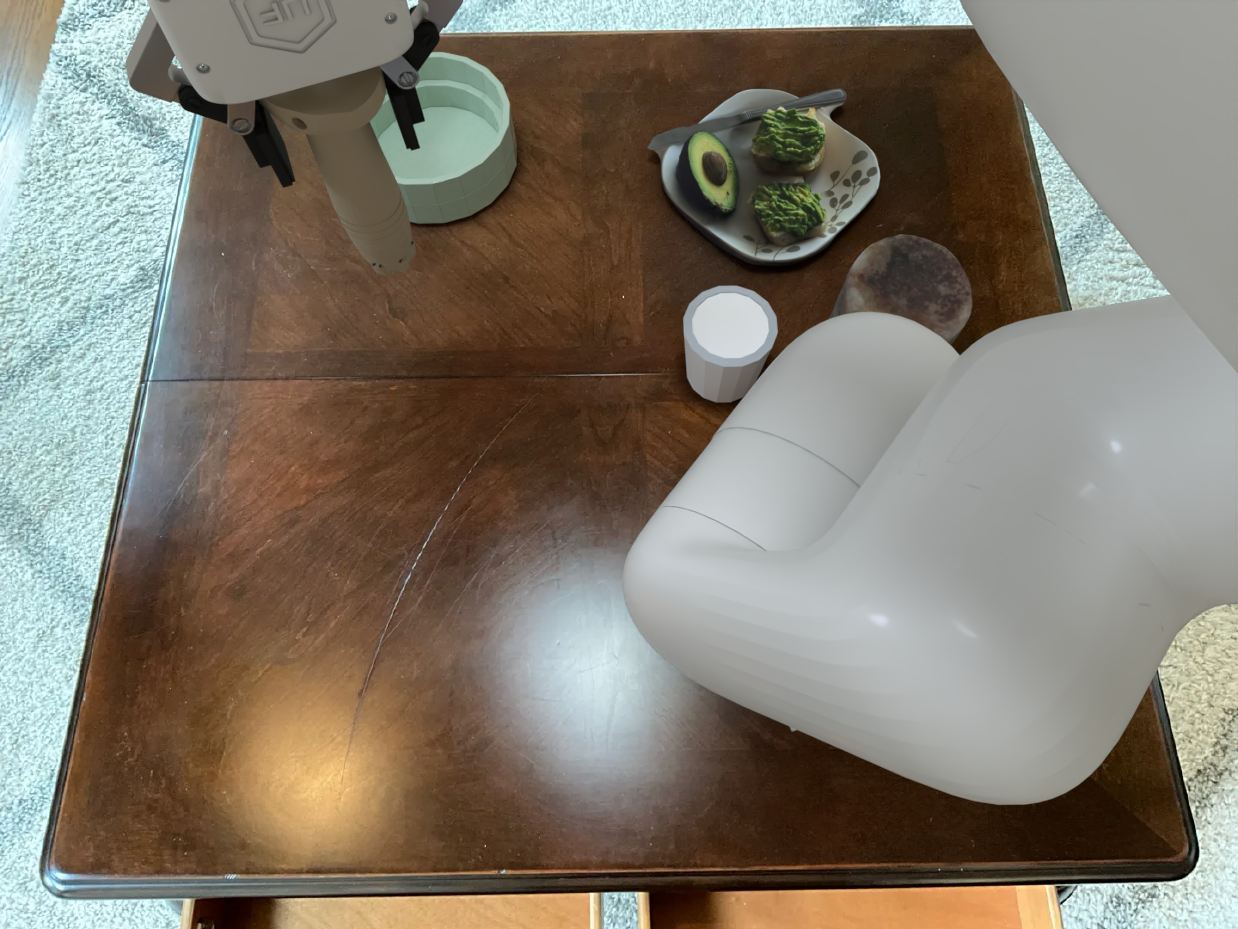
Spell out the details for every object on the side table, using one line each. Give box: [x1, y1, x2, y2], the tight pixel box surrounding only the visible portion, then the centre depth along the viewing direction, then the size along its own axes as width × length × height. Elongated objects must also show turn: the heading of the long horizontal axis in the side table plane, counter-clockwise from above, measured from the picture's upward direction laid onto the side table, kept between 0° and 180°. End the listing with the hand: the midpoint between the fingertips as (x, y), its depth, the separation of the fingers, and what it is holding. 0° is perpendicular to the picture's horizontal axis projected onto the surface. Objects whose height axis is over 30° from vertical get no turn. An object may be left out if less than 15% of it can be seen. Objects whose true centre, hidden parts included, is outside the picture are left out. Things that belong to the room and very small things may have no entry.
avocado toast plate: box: [646, 88, 882, 267], centre depth 75 cm, size 19×18×5 cm
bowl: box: [369, 51, 518, 225], centre depth 76 cm, size 14×14×6 cm
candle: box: [828, 233, 973, 346], centre depth 58 cm, size 8×7×20 cm
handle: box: [258, 66, 417, 276], centre depth 50 cm, size 5×6×15 cm
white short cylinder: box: [682, 285, 779, 403], centre depth 67 cm, size 7×7×7 cm
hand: (345, 146), depth 47 cm, fingers closed on handle, 6 cm apart
